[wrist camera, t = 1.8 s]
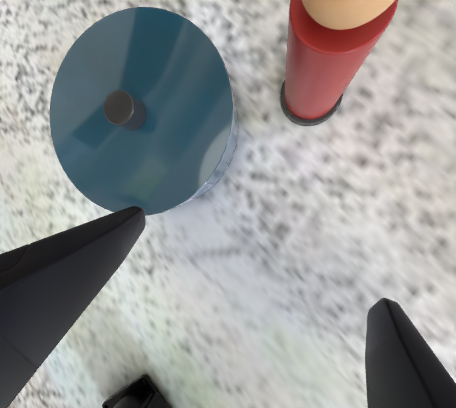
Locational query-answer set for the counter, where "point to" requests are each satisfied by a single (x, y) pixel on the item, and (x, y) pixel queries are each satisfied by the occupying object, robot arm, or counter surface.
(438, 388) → the robot arm
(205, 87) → the pot lid
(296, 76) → the toy
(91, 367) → the counter surface
